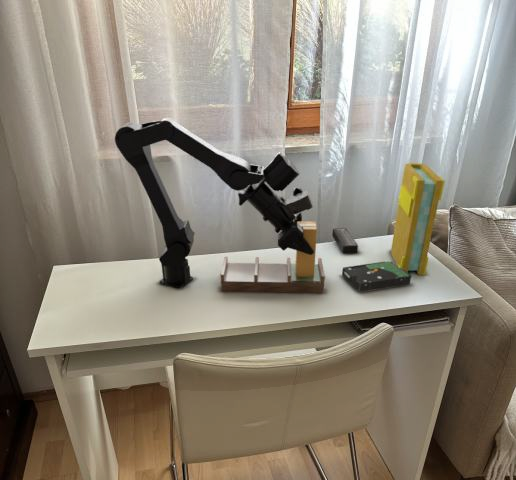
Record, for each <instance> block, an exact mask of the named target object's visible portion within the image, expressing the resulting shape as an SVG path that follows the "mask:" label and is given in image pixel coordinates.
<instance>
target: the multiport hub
mask: <svg viewBox="0 0 516 480" xmlns="http://www.w3.org/2000/svg"><path fill="white" fill-rule="evenodd" d="M331 237H332V238H333V240H334V241H335V243H336V245H337V246H338V248H339V250H340V251H341V253H342V254H357V253H358V251H359V250H358V249H359V244H358V243H357V241H356V240H355V239H354V237H353V236H352V234H351V233H350V231H349V230H348V228H346V227H342V228H341V227H337V228H332V234H331Z"/></svg>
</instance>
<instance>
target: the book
mask: <svg viewBox="0 0 516 480" xmlns="http://www.w3.org/2000/svg"><path fill="white" fill-rule="evenodd" d="M402 174H403V176H402V180H401V181H402V182H401V184H400V189H399V196H398V201H397V202H398V206H397V212H396V218H395V223H394V230H393V236H392V242H391V249H390V254H391V257H392V259H393V260H394V263H395V265H397V266H398V267H399V268H402V269H403V270H404V271H406V272H407V273H408V274H409V271H415V272H416V274H417V275H423V276H424V275H426V272H427V268H428V262H429V256H428V254H429V250H430V244H431V241H432V240H431V239H432V236H433V231H434V230H433V229H434V226H435V220H436V215H437V210H438V206H439V201H441V200H442V195H443V191H444V186H445V182H446V181H445V179H444V178H443V177H442V176H440V175H438V174H436V172H434V170H433V169H431V168H430V166H428V165H427V164H424V163H418V162H408V163H405V165H404V169H403V173H402Z"/></svg>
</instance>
